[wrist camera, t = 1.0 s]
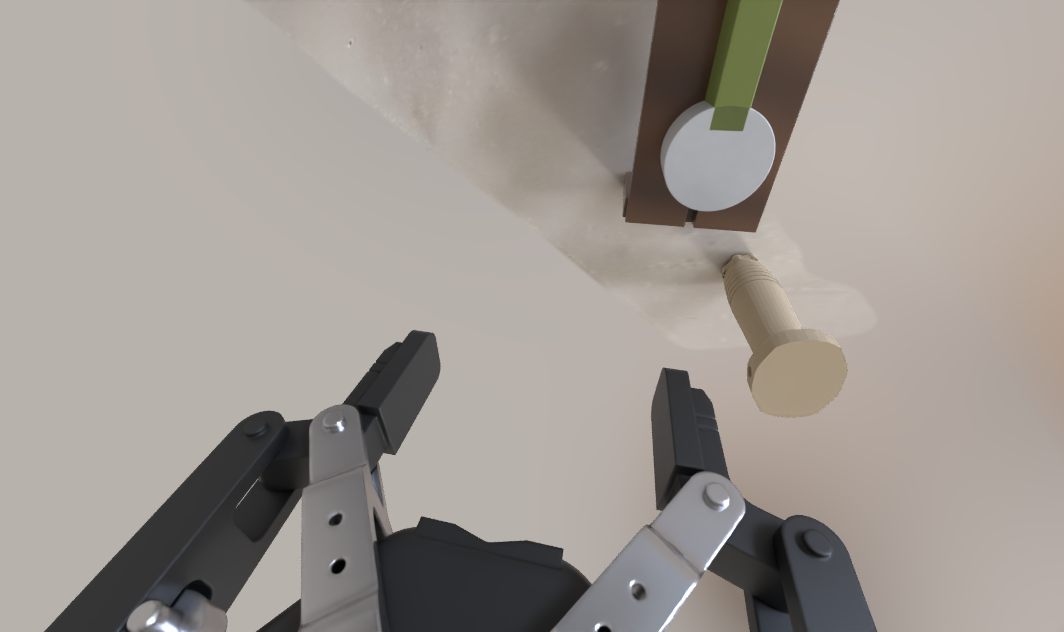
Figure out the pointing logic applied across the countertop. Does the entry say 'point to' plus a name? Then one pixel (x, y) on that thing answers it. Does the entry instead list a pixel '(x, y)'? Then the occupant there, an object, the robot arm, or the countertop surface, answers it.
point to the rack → (682, 81)
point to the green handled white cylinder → (725, 118)
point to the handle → (781, 344)
